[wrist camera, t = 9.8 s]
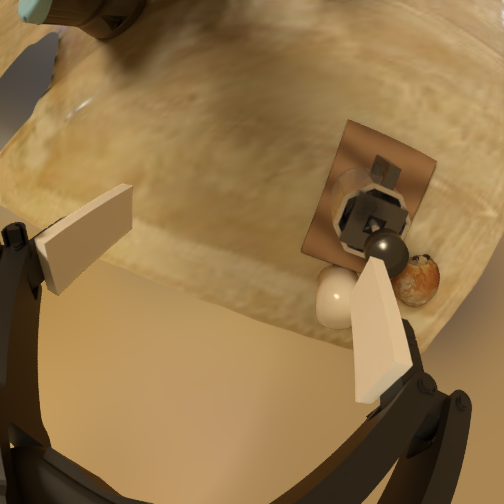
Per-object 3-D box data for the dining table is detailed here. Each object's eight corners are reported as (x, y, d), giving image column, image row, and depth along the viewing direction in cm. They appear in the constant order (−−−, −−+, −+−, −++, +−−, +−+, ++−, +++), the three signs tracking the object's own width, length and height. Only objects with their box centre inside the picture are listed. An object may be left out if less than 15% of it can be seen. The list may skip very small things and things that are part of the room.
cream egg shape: (326, 257, 48) (327, 286, 41) (365, 271, 48) (371, 301, 40) (308, 295, 53) (305, 326, 46) (344, 307, 53) (346, 338, 45)
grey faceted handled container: (349, 141, 37) (361, 152, 27) (404, 166, 36) (432, 185, 26) (322, 213, 43) (323, 247, 33) (375, 233, 43) (389, 271, 33)
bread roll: (383, 266, 50) (378, 300, 46) (416, 240, 42) (416, 277, 37) (415, 286, 51) (413, 319, 46) (449, 265, 42) (450, 300, 38)
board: (347, 119, 36) (348, 119, 35) (434, 159, 35) (436, 161, 34) (301, 248, 49) (300, 252, 48) (378, 276, 48) (379, 279, 47)
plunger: (349, 171, 37) (371, 213, 22) (392, 189, 37) (433, 240, 22) (333, 213, 41) (340, 277, 26) (374, 229, 40) (399, 297, 25)
